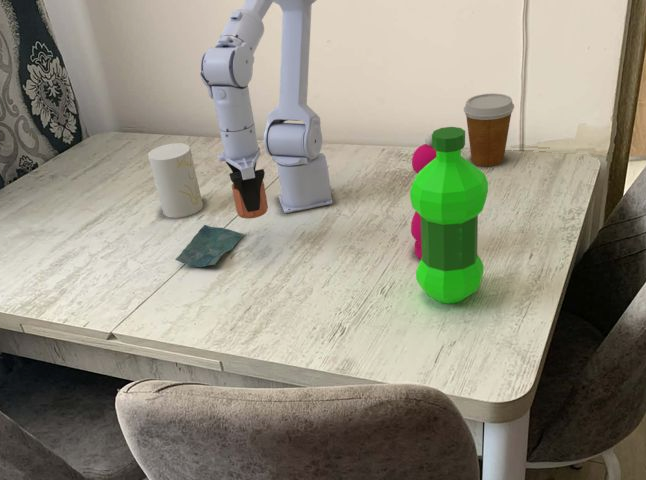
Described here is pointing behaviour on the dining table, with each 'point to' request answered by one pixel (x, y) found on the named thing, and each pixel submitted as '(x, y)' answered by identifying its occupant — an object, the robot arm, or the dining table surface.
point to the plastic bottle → (449, 219)
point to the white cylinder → (176, 180)
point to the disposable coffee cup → (488, 127)
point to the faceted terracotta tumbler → (241, 207)
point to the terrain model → (208, 246)
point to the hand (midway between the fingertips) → (251, 202)
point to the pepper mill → (419, 161)
